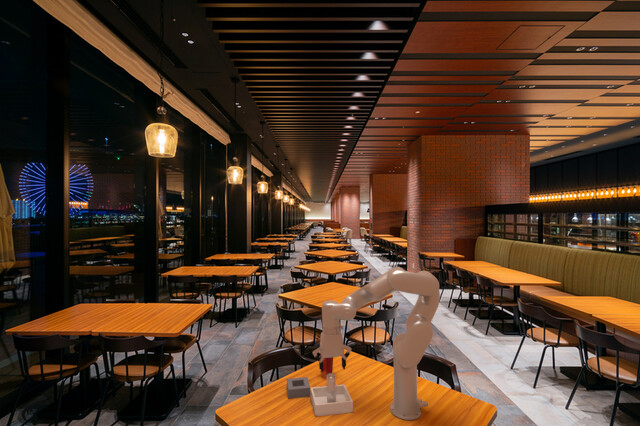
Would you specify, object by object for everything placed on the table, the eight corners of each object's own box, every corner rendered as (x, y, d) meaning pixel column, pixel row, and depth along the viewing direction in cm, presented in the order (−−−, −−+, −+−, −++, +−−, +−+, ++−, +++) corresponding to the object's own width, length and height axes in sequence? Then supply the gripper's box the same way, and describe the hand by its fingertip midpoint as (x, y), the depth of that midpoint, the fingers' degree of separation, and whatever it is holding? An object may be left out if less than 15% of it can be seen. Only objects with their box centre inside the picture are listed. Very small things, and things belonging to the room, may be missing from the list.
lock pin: (334, 400, 139) (334, 372, 139) (337, 405, 135) (336, 377, 135) (326, 401, 138) (325, 373, 138) (328, 406, 134) (327, 378, 134)
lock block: (307, 385, 153) (307, 377, 153) (310, 396, 143) (310, 387, 143) (286, 387, 151) (286, 378, 151) (288, 398, 141) (288, 389, 141)
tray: (344, 394, 145) (344, 384, 145) (353, 412, 131) (353, 401, 131) (310, 397, 142) (310, 387, 142) (315, 416, 128) (315, 405, 128)
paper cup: (334, 373, 165) (334, 346, 166) (333, 380, 157) (333, 352, 158) (319, 372, 166) (319, 345, 166) (318, 379, 158) (318, 351, 159)
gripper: (348, 325, 143) (349, 363, 142) (310, 329, 140) (312, 367, 139) (352, 330, 135) (354, 370, 135) (313, 334, 132) (314, 375, 132)
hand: (332, 369), depth 137 cm, fingers open, 9 cm apart
